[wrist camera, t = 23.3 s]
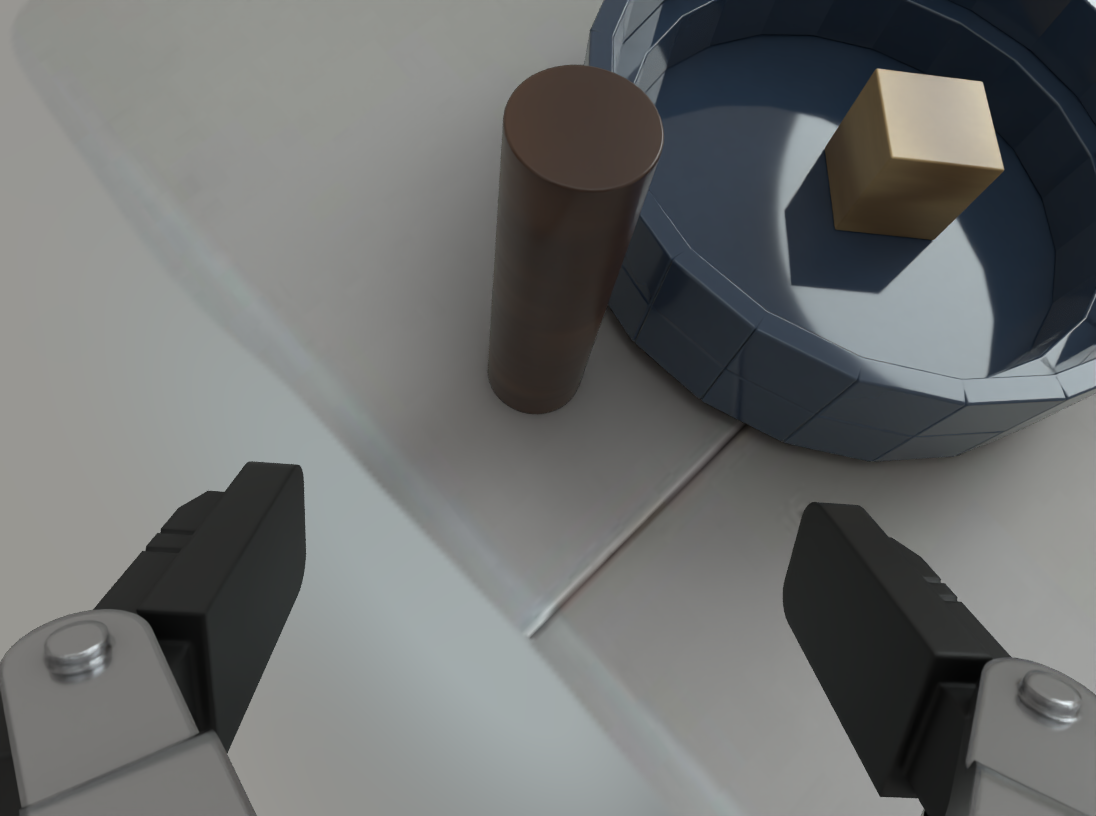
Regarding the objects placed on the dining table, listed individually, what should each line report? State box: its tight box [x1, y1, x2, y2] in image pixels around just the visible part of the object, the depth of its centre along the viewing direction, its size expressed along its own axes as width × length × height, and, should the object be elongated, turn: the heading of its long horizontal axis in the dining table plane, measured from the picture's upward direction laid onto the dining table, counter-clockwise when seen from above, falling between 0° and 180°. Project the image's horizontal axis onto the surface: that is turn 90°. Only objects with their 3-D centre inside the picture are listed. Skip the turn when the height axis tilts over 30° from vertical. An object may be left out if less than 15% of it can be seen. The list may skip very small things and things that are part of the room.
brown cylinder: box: [488, 65, 664, 414], centre depth 17 cm, size 3×3×10 cm
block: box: [825, 69, 1004, 240], centre depth 23 cm, size 4×4×4 cm
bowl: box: [584, 0, 1096, 462], centre depth 23 cm, size 18×19×5 cm
